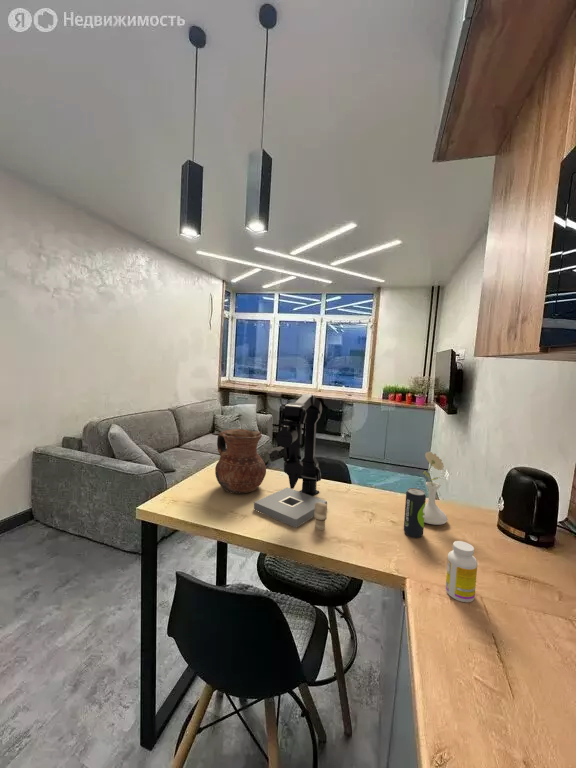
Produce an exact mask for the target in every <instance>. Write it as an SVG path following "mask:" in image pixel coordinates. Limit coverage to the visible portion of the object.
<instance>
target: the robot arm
mask: <svg viewBox="0 0 576 768" xmlns="http://www.w3.org/2000/svg"><path fill="white" fill-rule="evenodd" d="M322 411H323V406H322V401H320V400H319V399H318V398H316V396H315V394H313V393H302V394H301V395H300V397H299V398H298V399H297V400H296V401H295V402H291V403H290V402H288V403H287V404H285V406H284V407H282V411H281V416H280V418H279V422H278V425H279V426H281V429H280V430H278V431H277V433H276V435H275V442H276V443H277V445H278V446H277V447H273V448H270V449H268V453H267V454H268V456H269V459H270V462H276V461H277V460H280V459H283V461H284V462H283V472H284V473H285V474H286V475H287V476H288V481H289V488H290V489H293V490H295V489H294V488H295V487H296V484H297V483H298V481H299V480H302V484H301V489H300V490H298V491H299V492H302V493H305V494H308V495H311V496H315V495H317V494H319V493H320V491H319V490H317V482H319V481H321V480H322V473H321V469H320V467H319V461H318V460H317V457H316V442H317V441H316V439H317V438H316V437H317V423H318V421H319V419H321V415H322V413H323V412H322ZM303 425H305V426H304V427H305V428H304V429H305V432H304V455H303V456H304V457H303V458H302V453H301V452H302V448H303V447H302V446H303V445H302V434H303V433H302V432H303V431H302V430H303ZM300 460H301V461H300Z"/></svg>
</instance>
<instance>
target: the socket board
mask: <svg viewBox="0 0 576 768" xmlns="http://www.w3.org/2000/svg"><path fill="white" fill-rule="evenodd" d="M299 491H300V490H296V489H291V488H290V487H285V488H283V489H279V490H278V491H276V492H274V493H271V494H269V495H267V496H265V497H262V498H260V499H258V500H256V501H253V510H254V509H255V510H254V511H256V510H257V511H256V512H258V511H259V512H258V513H260V512H261V513H260V514H262V513H263V515H265V516H267V517H268V518H272V519H275V520H277V521H279V522H281V523H283V524H285V525H288V526H290V527H293V528H295V529H297V528H298V527H300V526H301V525H303V524H305V523H306V522H307V521H309V520H311V519H312V518H314V513H315V504H316V503H325V504H327V505H328V501H327V500H326V499H325V500H324V499H322V498H319V497H316V496H315V495H313V496H311V495H308V494H305V493H302V492H299Z"/></svg>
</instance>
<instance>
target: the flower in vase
mask: <svg viewBox="0 0 576 768" xmlns="http://www.w3.org/2000/svg"><path fill="white" fill-rule="evenodd" d="M424 455H425V459H426V461H427V462H428V463H429V465H430V466H429V469H428V472H427V471H426V470H424V471H423V472H422V474H423V475H425V476H426V477H427V478H429V480H430V481H426V482H425V485H426V487H427V491H428V500H427V503H426V502H425V516H424V524H425V523H426V524H429V525H436V526H437V525H444V524H446V523H447V522H448V516H447V514H446V513H445V512H444V511H443V510H442V509H440V508H441V507H438V505H437V504H436V495H437V491H438V490H439V488H440V487H441V484H440V483H438V482H434V481H435V480H438V479H439V477H437V476H436V477H433V478H432V479H431V475H430V472H431V471H430V470H431V468H432V467H433V468H434V469H436V470H437V471H443V470H444V463H443V462H442V461H443V460H442V458H440V457H439V456H437V454H436V453H433V452H432V451H428V452H427V451H426V452H425V454H424Z"/></svg>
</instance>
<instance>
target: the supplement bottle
mask: <svg viewBox="0 0 576 768" xmlns="http://www.w3.org/2000/svg"><path fill="white" fill-rule="evenodd" d="M474 552H475V547H474V546H473V545H472V544H470V543H468V542H465V541H463V540H455V541H454V542H453V543H452V550H450V551H449V552H448V554H447V566H446V575H445V576H446V579H445V591H446V593H447V594H448V596H450V597H451V598H452V599H455V600H456V601H457V602H458V601H459V602H461V603H462V602H463V603H470V602H473V601H474V600H475V598H476V587H477V571H478V561H477V558H476V557H475V556H474Z"/></svg>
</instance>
